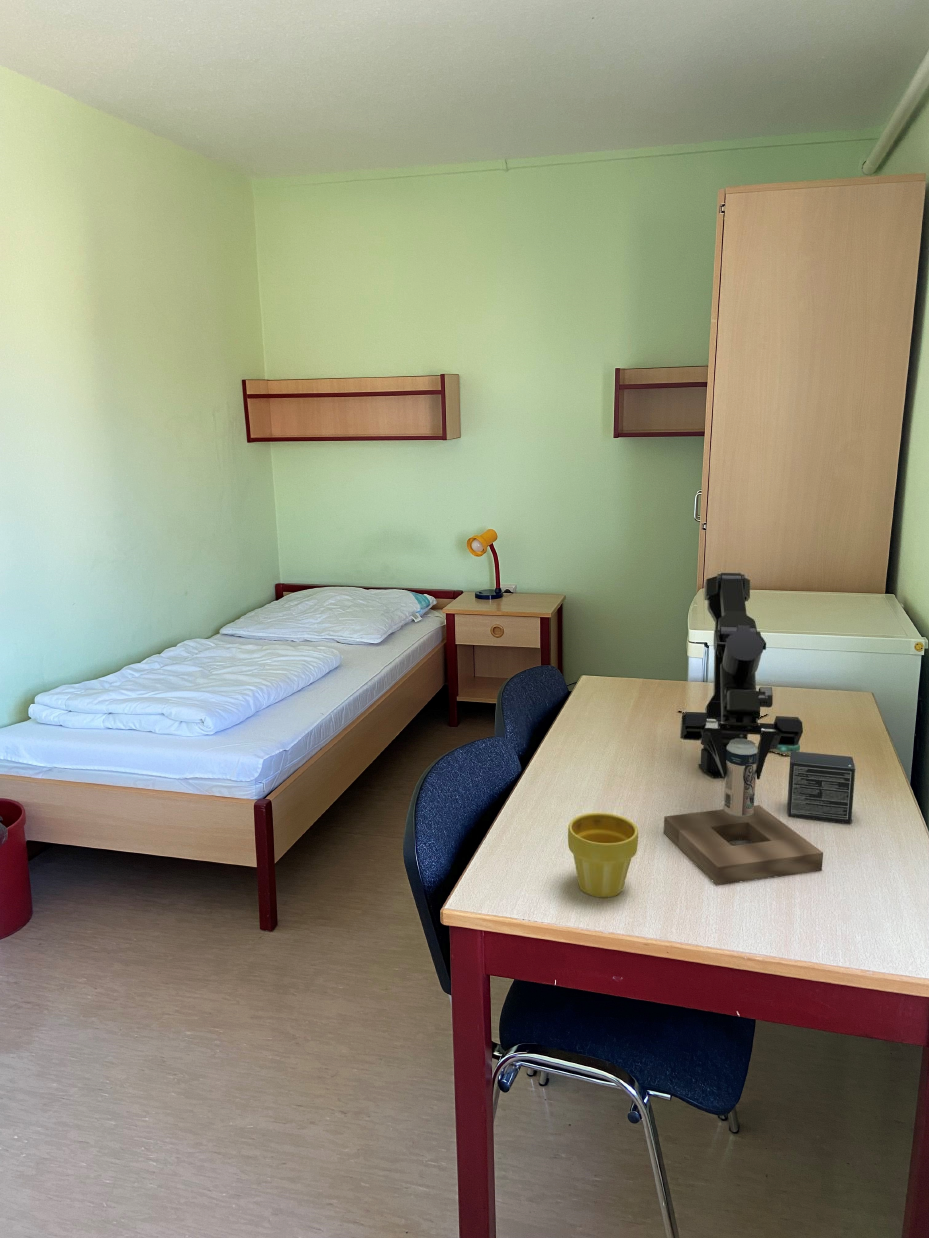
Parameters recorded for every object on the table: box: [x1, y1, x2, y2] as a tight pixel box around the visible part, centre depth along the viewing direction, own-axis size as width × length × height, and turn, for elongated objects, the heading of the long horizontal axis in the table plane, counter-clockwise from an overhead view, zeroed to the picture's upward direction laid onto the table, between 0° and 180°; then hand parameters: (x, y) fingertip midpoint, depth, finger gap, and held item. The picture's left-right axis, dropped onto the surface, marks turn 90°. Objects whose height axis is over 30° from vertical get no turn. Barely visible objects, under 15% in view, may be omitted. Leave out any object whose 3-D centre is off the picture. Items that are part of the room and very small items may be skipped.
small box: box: [786, 751, 857, 825], centre depth 154 cm, size 11×6×10 cm, turn 71°
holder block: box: [663, 804, 824, 886], centre depth 141 cm, size 18×18×3 cm
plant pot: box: [567, 812, 639, 898], centre depth 130 cm, size 10×10×10 cm
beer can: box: [722, 738, 758, 818], centre depth 139 cm, size 5×5×12 cm
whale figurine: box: [769, 742, 801, 757], centre depth 183 cm, size 6×7×4 cm
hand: (741, 777), depth 137 cm, fingers closed on beer can, 5 cm apart
